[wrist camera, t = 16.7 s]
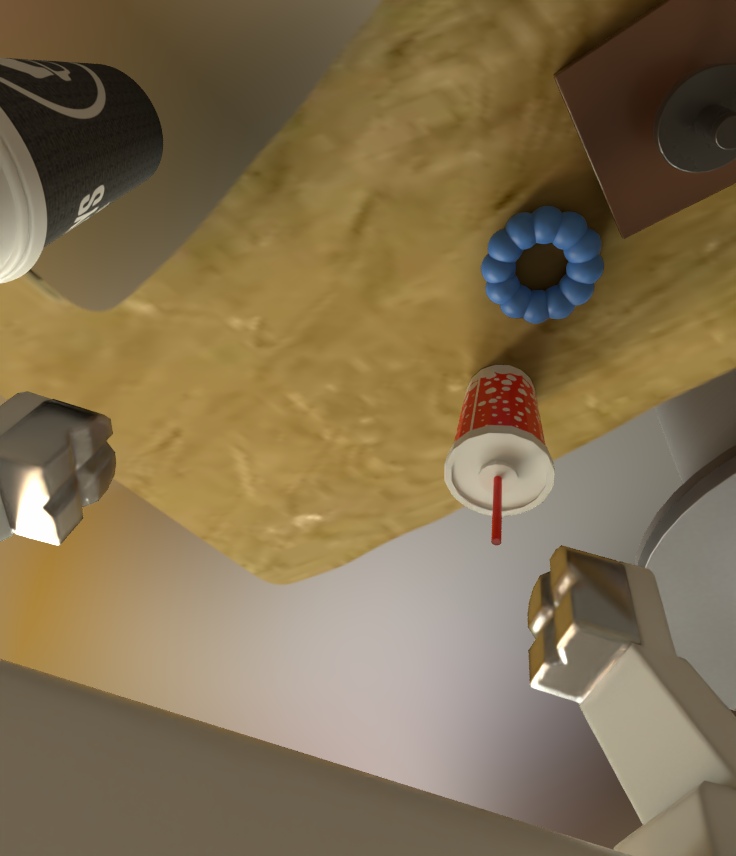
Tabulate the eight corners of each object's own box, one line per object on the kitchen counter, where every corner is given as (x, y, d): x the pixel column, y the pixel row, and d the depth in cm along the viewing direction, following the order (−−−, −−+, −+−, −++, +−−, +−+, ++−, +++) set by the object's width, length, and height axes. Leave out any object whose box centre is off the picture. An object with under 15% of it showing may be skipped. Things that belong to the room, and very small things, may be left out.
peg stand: (808, 137, 27) (906, 174, 21) (619, 233, 32) (649, 290, 25) (757, -63, 24) (855, -97, 17) (552, 74, 28) (566, 91, 21)
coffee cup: (16, 131, 35) (-237, 187, 23) (72, -15, 30) (-217, -39, 18) (144, 241, 38) (-25, 342, 26) (216, 124, 33) (45, 183, 21)
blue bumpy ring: (620, 282, 33) (625, 296, 31) (512, 332, 36) (512, 347, 35) (573, 177, 30) (577, 185, 29) (461, 240, 34) (459, 251, 32)
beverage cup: (486, 442, 41) (477, 595, 30) (438, 381, 39) (410, 522, 28) (563, 406, 38) (585, 561, 27) (516, 337, 36) (519, 476, 25)
